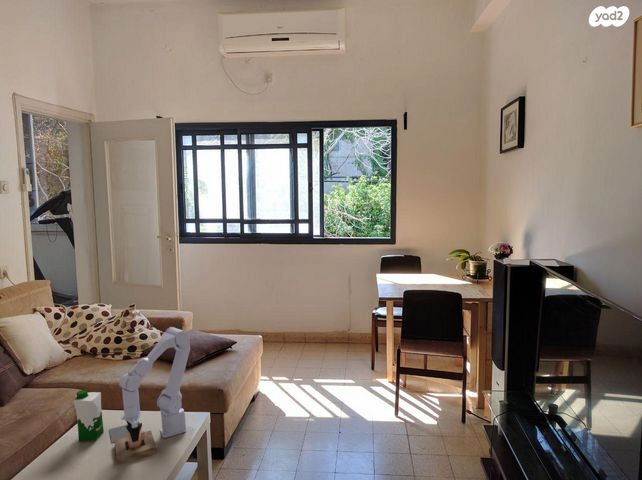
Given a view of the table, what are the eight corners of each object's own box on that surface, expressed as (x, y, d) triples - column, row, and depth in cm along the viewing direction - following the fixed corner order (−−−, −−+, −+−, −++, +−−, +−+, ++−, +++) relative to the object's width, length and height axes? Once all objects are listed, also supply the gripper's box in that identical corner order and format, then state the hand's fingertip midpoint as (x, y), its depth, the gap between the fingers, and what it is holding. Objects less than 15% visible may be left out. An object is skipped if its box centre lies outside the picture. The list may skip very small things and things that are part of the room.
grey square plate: (139, 422, 201) (139, 421, 201) (142, 434, 190) (142, 434, 190) (109, 429, 195) (109, 429, 195) (111, 443, 185) (111, 442, 185)
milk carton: (86, 431, 194) (81, 387, 192) (107, 430, 194) (103, 386, 192) (75, 443, 186) (70, 397, 183) (96, 442, 186) (92, 396, 183)
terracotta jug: (144, 443, 184) (143, 425, 183) (146, 449, 179) (144, 430, 178) (128, 448, 181) (126, 429, 180) (129, 454, 176) (127, 435, 175)
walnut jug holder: (151, 435, 189) (150, 430, 189) (156, 452, 177) (156, 446, 177) (114, 446, 182) (114, 440, 182) (118, 464, 170) (117, 458, 170)
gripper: (118, 399, 182) (121, 431, 183) (122, 414, 169) (125, 448, 171) (137, 395, 185) (139, 426, 187) (142, 409, 172) (144, 443, 174)
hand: (134, 436), depth 179 cm, fingers open, 7 cm apart
